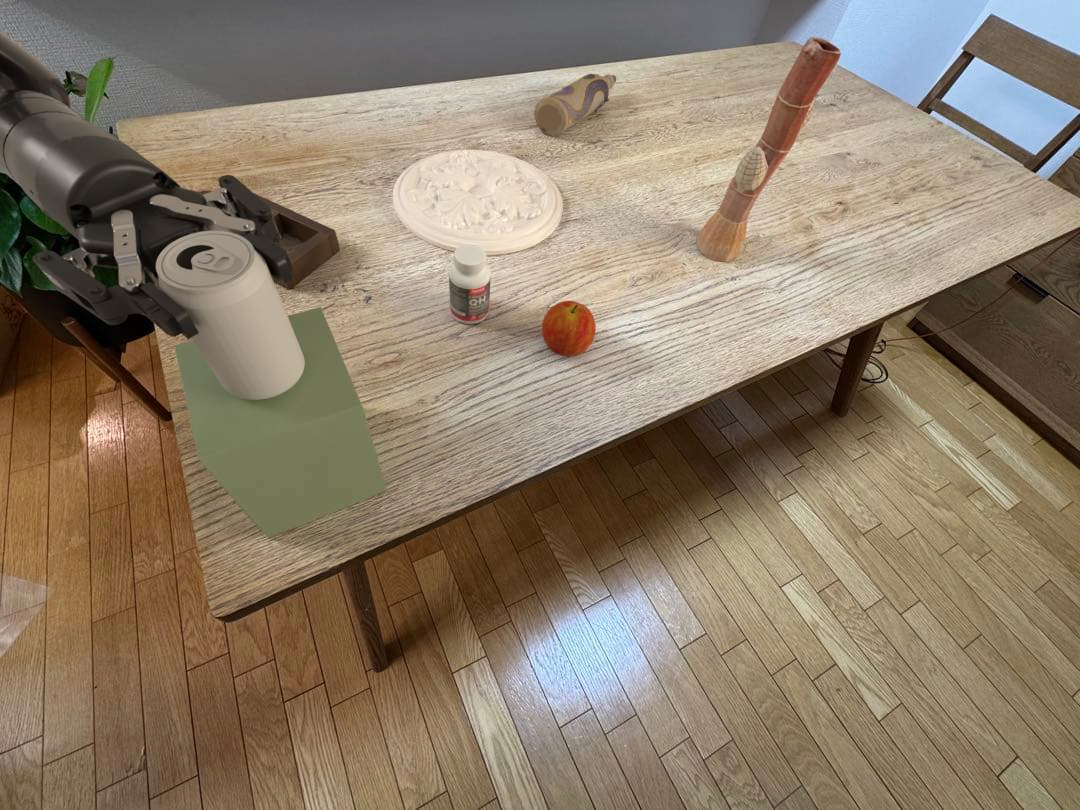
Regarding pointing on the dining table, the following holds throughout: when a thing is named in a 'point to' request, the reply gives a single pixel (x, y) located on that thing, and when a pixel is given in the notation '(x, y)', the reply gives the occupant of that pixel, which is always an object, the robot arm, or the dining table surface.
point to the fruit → (568, 328)
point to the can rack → (315, 236)
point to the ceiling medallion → (477, 201)
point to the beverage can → (233, 312)
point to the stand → (285, 435)
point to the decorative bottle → (572, 103)
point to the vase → (768, 149)
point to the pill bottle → (469, 285)
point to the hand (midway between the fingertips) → (239, 297)
